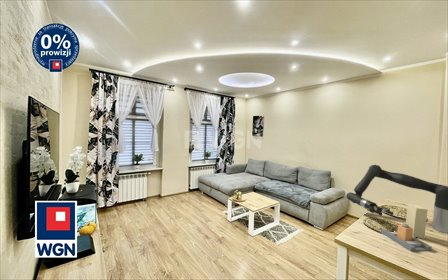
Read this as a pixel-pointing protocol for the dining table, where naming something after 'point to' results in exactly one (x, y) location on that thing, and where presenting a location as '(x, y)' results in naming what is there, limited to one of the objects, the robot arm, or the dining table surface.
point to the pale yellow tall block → (417, 219)
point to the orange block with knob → (405, 232)
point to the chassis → (407, 242)
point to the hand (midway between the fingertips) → (387, 214)
